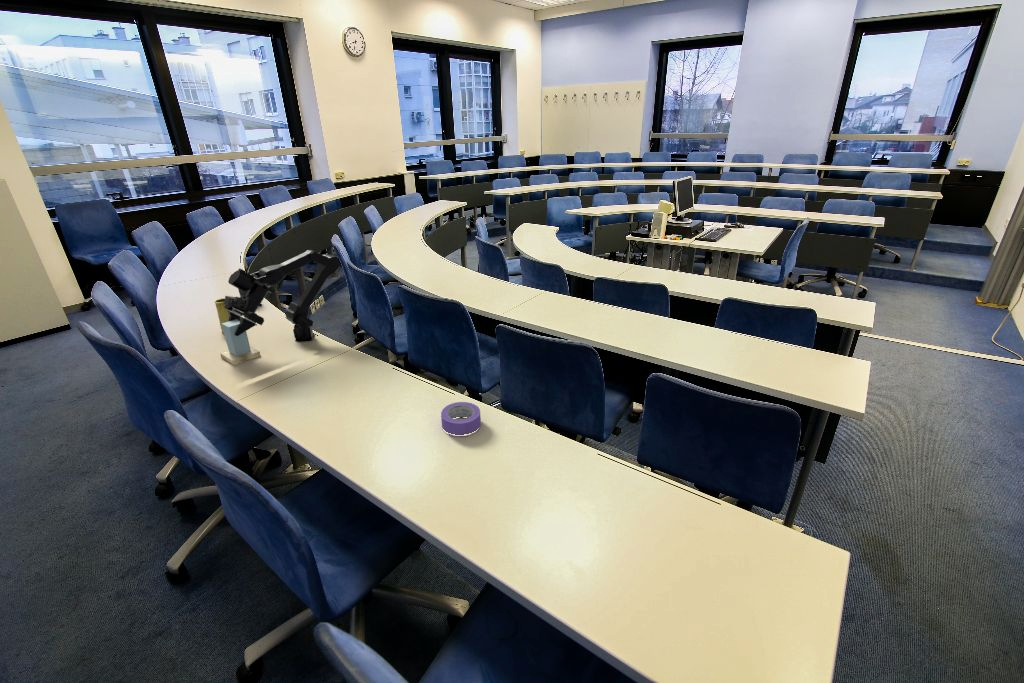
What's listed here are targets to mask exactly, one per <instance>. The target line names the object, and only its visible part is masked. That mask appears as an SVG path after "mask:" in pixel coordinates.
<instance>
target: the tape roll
mask: <svg viewBox="0 0 1024 683" xmlns="http://www.w3.org/2000/svg"><path fill="white" fill-rule="evenodd" d="M456 417H467V418H466V419H465V418H460V419H453V418H456ZM440 418H441V419H440V420H441V429H442V428H443V429H444V430H445V431H446V432H448V433H451V434H455V435H464V434H469V433H472V432H474V431H476V430H477V429H478V428H479V427H480V425H481V426H482V422H481V408H479V406H477V405H476V404H474V403H472V402H468V401H467V402H466V401H457V402H454V403H453V402H452V403H450V404H448V405H446V406H445V407H444V408H442V410H441V412H440ZM480 428H481V427H480ZM443 429H442V430H443Z"/></svg>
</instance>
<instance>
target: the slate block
mask: <svg viewBox="0 0 1024 683" xmlns="http://www.w3.org/2000/svg"><path fill="white" fill-rule="evenodd" d="M240 322H241V321H240V320H237V319H236V320H232V321H229V322H225V323H222V327H223V331H224V333H223V335H224V337H225V342H226V346H227V349H228V350H227V351H229V353H231V354H233V355H234V356H236V357H237V356H240V355H243V354H246V353H248V352H251V349H250V346H251V345H250V341H249V336H248V333H247V331H245V332H243V333H242V334H240V335H239V336H235V332H236V330H237V328H238V326H239V324H240Z"/></svg>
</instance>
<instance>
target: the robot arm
mask: <svg viewBox="0 0 1024 683" xmlns="http://www.w3.org/2000/svg"><path fill="white" fill-rule="evenodd" d="M312 262H316V263H317V267H316V272H315V274H314V275H313V277H312V279H311V280H310V281H309V283H308V285H307V287H306V288H305V290H304V291H303V293H302V294H301V296H300V297H299V299H298V300H297V301H296V302H292V301H291V302H290V303H289V305H288V307H287V308H285V319H287V321H289V322H290V323H292V325H293V330H292V331H293V336H294V339H295V340H294V342H311V341H313V339H314V337H315V334H316V333H314V332H313V324H314V321H313V319H310V318H309V315H310V314H309V313H310V312H309V311H310V307H311V305H312V303H313V302H314V300H315V299H316V297H317V295H318V294H319V292H320V290H322V287H323V286H324V284H325V282H326V281H327V279H328V278H329V277H331V276H333V275H334V274H335V273H336V272H337V271H338V270H339V268H340V266H341V262H340V260H339V258H338V257H336V256H333V255H331V254H325V253H324V254H320V253H318V252H316V251H315V250H312V249H307V250H306V251H304V252H303V253H302V252H301V253H300V254H298V255H296V256H294V257H292V258H290V259H287V260H285V261H284V262H281V263H279V264H272V265H268V266H265V267H262V268H260V269H259V270H258V271H256V272H253V273H248V272H247V271H245V270H244V269H243V268H241V267H239V268H238V269H237V270H235V271H233V273H232V274H230V276H229V278H228V284H229V285H231V286H233V287H235V288H236V289H237V290H238V289H240V290H242V291H248V293H247V294H246V296H245V295H242V296H241V297H240V296H231V295H225V296H224V298H225V300H224V304H226V305H225V307H224V308H226V309H228V310H229V311H228V310H227V312H228V314H229V321H232V320H236V319H237V320H240V321H241V322H240V324H239V326H238V328H237V330H236V332H235V336H239V335H240V334H242V333H243V332H245V331H246V332H247V331H248V330H250V329H251V328H254V327H255V326H256V327H258V325H260V326H262V325H264V322H265V319H264V317H262V316H261V315H259V314H257V313H256V311H257V310H258V308H259V307H260V308H262V307H263V304H262V303H263V300H265V297H266V295H268V293H271V294H275V291H274V287H273V286H275V285H277V284H278V283H279V282H281V281H282V280H283V279H285V278H286V276H287V275H288V274H291V273H293V272H294V271H296V270H298V269H300V268H302V267H304V266H306V265H308V264H311V263H312ZM266 284H267V285H266ZM229 321H228V322H229Z"/></svg>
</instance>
